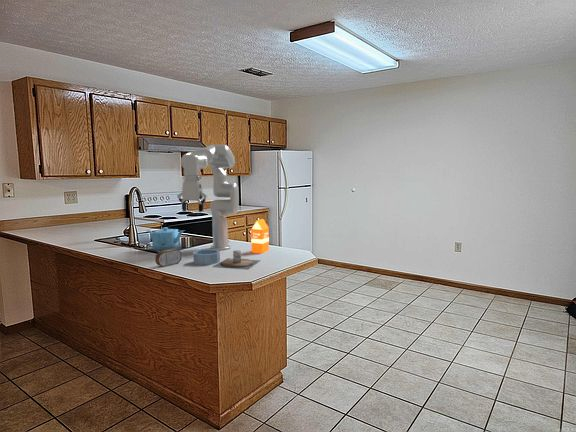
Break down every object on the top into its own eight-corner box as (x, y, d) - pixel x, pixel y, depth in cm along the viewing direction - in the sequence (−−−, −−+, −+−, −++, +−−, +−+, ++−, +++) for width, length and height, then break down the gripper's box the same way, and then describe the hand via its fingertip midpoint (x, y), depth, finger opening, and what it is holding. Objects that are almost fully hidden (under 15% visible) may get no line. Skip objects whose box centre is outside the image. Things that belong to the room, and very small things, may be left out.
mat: (227, 259, 221) (227, 258, 221) (260, 261, 216) (260, 260, 216) (211, 268, 202) (211, 266, 202) (247, 270, 197) (247, 269, 197)
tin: (179, 262, 216) (179, 247, 215) (182, 262, 214) (182, 247, 213) (155, 267, 204) (154, 251, 203) (158, 268, 202) (157, 252, 201)
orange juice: (251, 252, 240) (250, 220, 238) (258, 249, 248) (258, 218, 246) (262, 253, 237) (262, 220, 234) (269, 250, 245) (269, 219, 242)
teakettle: (172, 246, 258) (171, 224, 256) (187, 250, 245) (186, 227, 243) (145, 250, 245) (143, 227, 243) (158, 255, 232) (157, 230, 230)
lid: (229, 259, 220) (228, 247, 219) (257, 260, 215) (257, 248, 214) (215, 266, 203) (215, 253, 202) (246, 268, 199) (246, 255, 198)
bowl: (201, 258, 222) (201, 248, 222) (223, 260, 219) (223, 249, 218) (188, 264, 209) (188, 253, 208) (212, 266, 205) (212, 255, 205)
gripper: (210, 178, 204) (210, 211, 206) (181, 178, 209) (182, 210, 211) (203, 178, 197) (203, 212, 199) (173, 178, 202) (174, 211, 204)
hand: (192, 211), depth 205 cm, fingers open, 9 cm apart
